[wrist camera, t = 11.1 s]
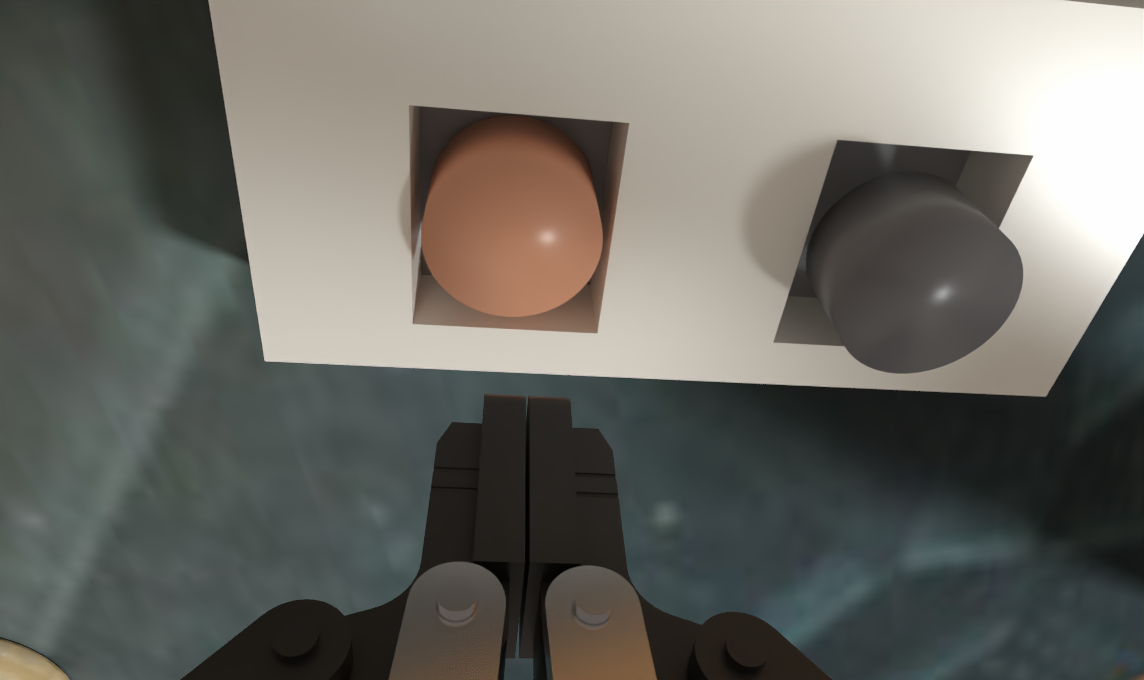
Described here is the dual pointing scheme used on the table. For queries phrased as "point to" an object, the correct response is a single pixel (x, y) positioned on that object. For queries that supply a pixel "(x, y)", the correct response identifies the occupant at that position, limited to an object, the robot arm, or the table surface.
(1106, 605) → the table surface
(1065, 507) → the table surface
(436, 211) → the terracotta button
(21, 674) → the hand bell
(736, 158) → the console
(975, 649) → the table surface
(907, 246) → the black button
